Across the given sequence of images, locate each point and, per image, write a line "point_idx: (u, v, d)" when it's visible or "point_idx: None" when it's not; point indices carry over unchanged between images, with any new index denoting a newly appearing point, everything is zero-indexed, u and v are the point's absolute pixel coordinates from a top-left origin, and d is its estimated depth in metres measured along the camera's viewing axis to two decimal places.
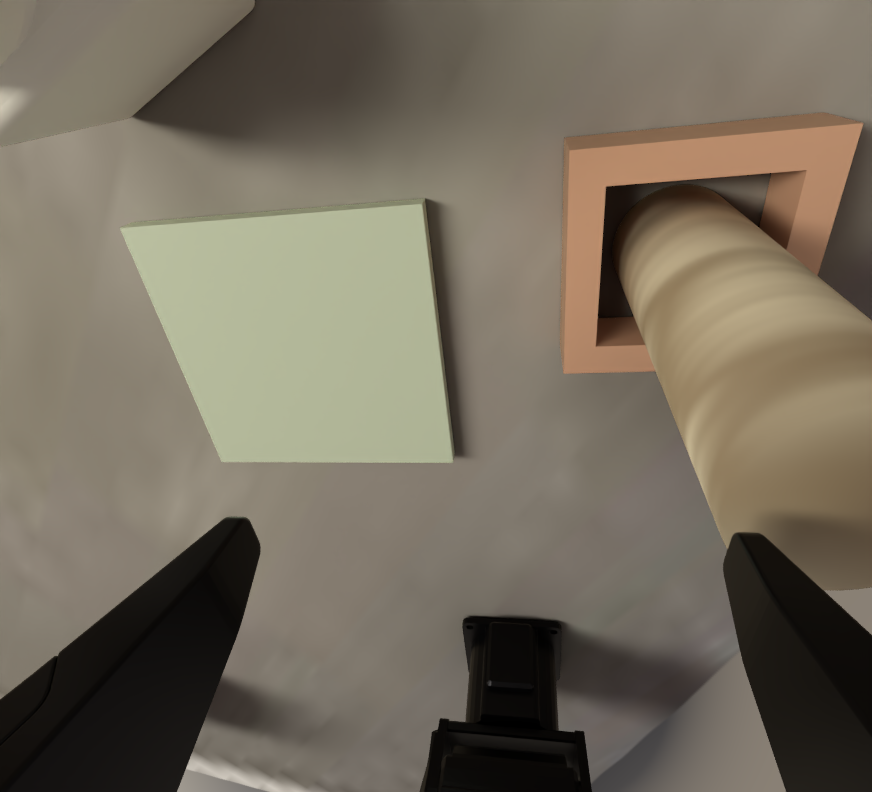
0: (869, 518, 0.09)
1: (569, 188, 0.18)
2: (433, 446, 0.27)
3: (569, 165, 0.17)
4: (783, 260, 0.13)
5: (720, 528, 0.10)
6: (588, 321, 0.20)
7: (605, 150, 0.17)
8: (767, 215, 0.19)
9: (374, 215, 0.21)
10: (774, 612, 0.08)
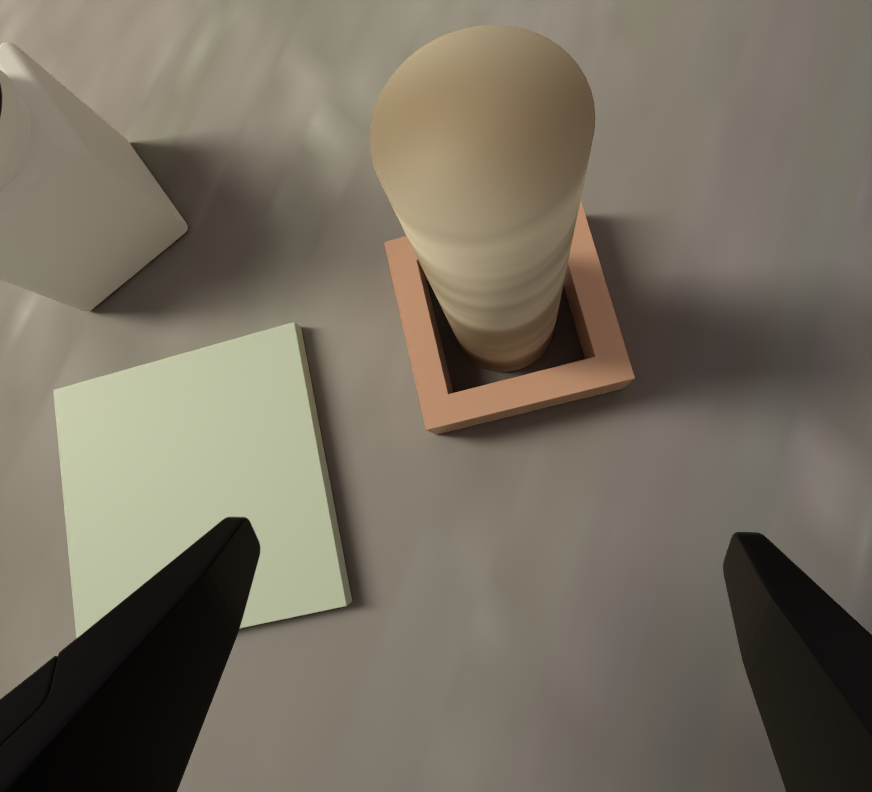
0: (490, 130, 0.11)
1: (390, 267, 0.23)
2: (321, 585, 0.23)
3: (387, 252, 0.23)
4: None
5: None
6: (433, 370, 0.22)
7: None
8: (564, 281, 0.24)
9: (257, 338, 0.25)
10: (774, 612, 0.08)
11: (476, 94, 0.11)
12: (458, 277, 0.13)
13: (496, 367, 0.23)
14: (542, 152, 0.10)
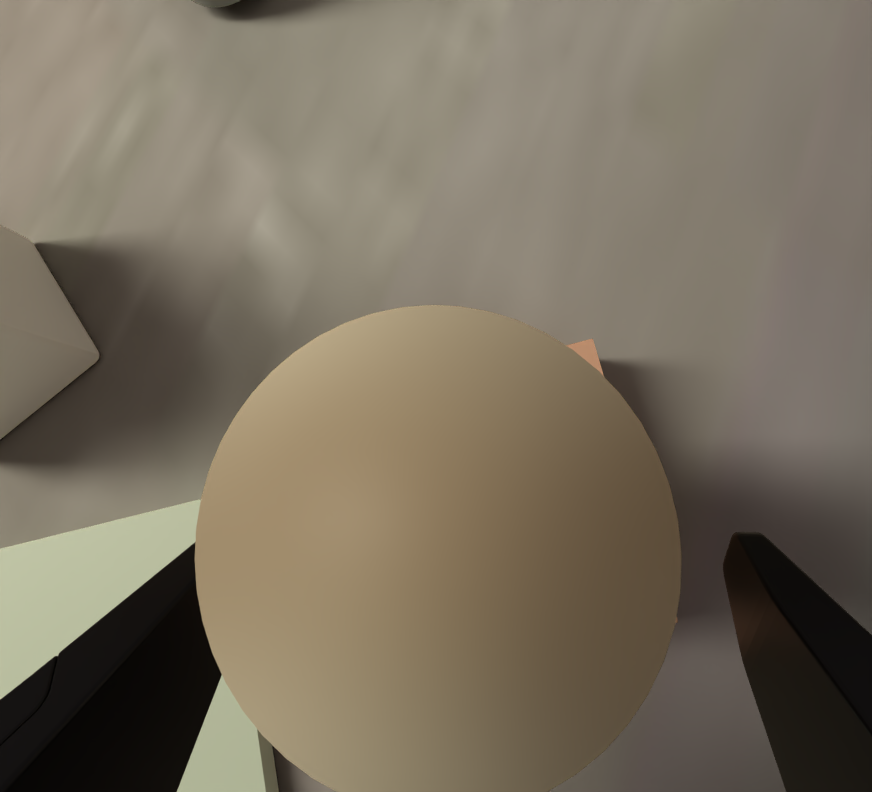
0: (445, 558, 0.05)
1: None
2: None
3: None
4: None
5: (211, 649, 0.05)
6: None
7: None
8: None
9: (177, 513, 0.19)
10: (774, 612, 0.08)
11: (417, 464, 0.05)
12: None
13: None
14: (561, 629, 0.05)
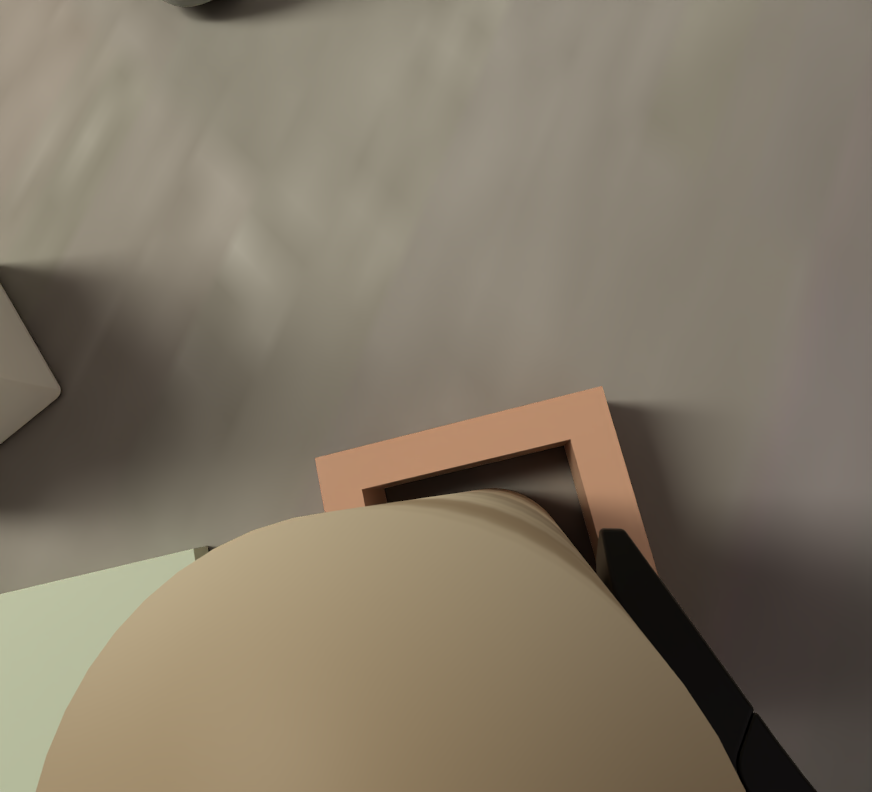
0: None
1: (323, 497, 0.15)
2: None
3: (319, 473, 0.16)
4: (472, 492, 0.09)
5: None
6: None
7: (351, 452, 0.15)
8: (582, 508, 0.16)
9: (142, 570, 0.18)
10: None
11: (360, 777, 0.03)
12: None
13: None
14: None
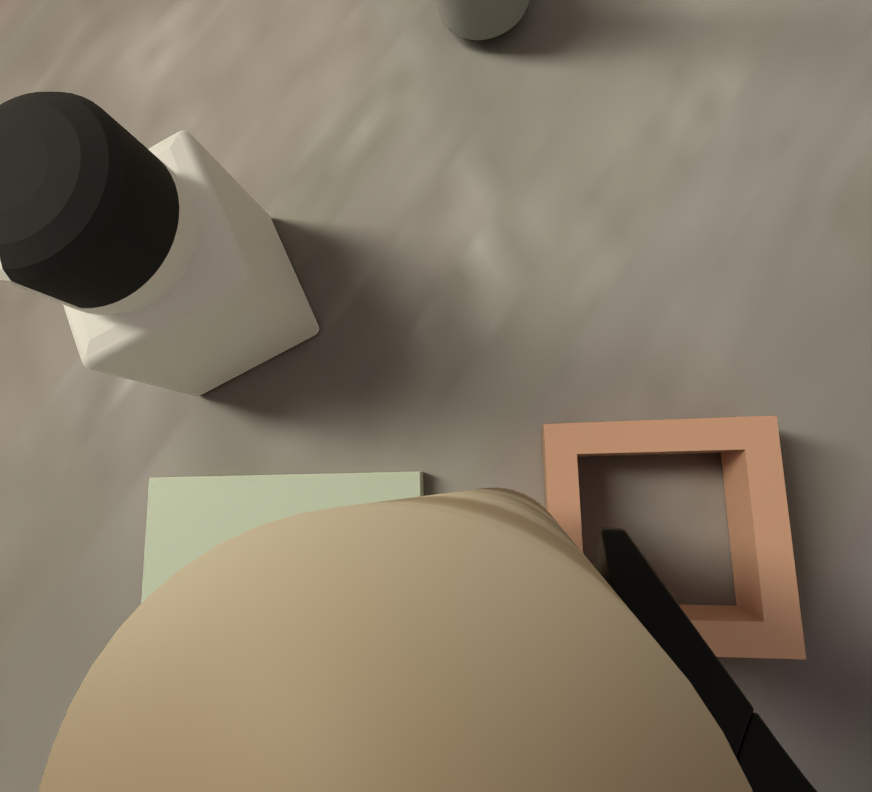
0: None
1: (546, 454, 0.21)
2: None
3: (544, 436, 0.21)
4: (474, 491, 0.09)
5: None
6: None
7: (572, 425, 0.21)
8: (729, 501, 0.21)
9: (376, 479, 0.23)
10: None
11: (363, 774, 0.03)
12: None
13: None
14: None
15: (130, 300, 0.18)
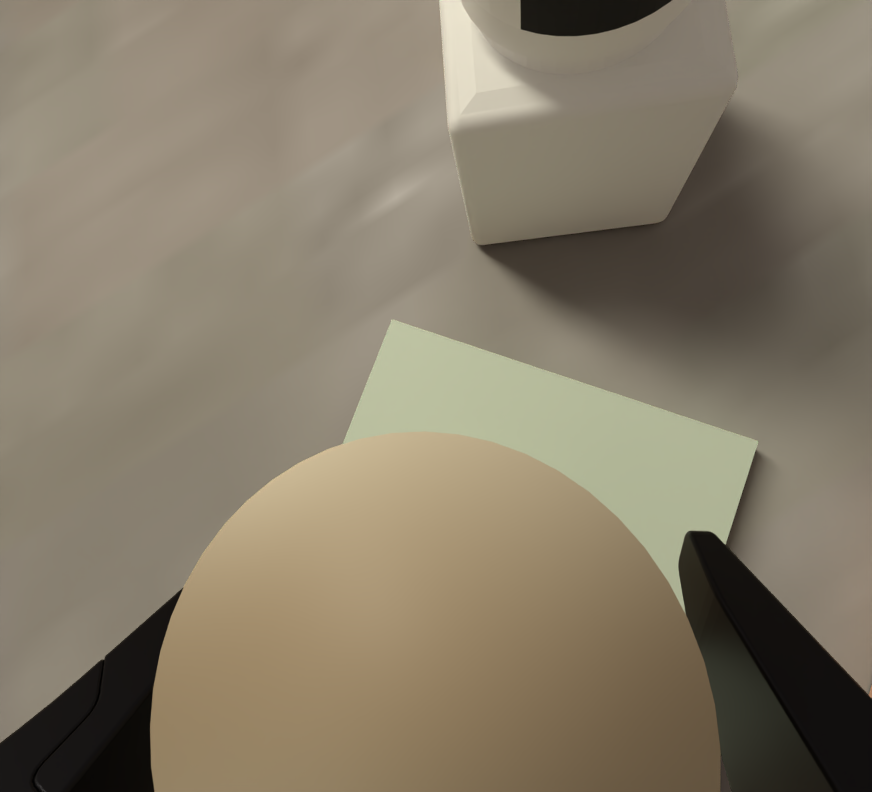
0: (441, 741, 0.04)
1: None
2: None
3: None
4: None
5: None
6: None
7: None
8: None
9: (694, 429, 0.17)
10: (717, 609, 0.08)
11: (411, 623, 0.04)
12: None
13: None
14: None
15: (593, 43, 0.12)
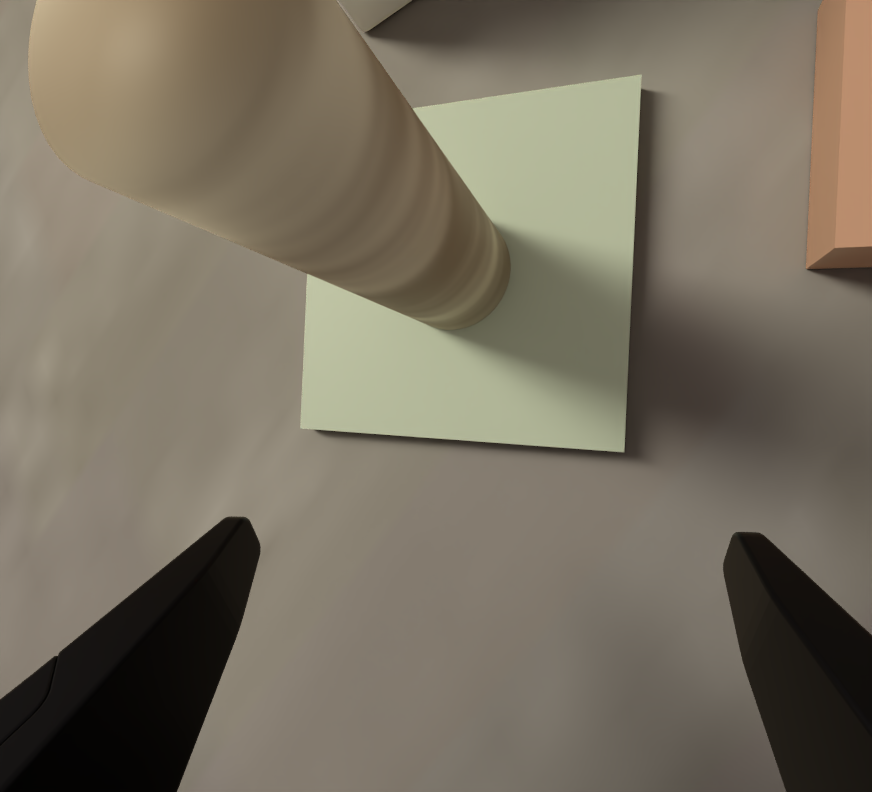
0: (156, 22, 0.07)
1: None
2: (597, 420, 0.19)
3: None
4: None
5: (58, 156, 0.08)
6: None
7: None
8: None
9: (583, 91, 0.19)
10: (774, 612, 0.08)
11: None
12: (262, 243, 0.10)
13: (454, 325, 0.19)
14: (224, 20, 0.07)
15: None
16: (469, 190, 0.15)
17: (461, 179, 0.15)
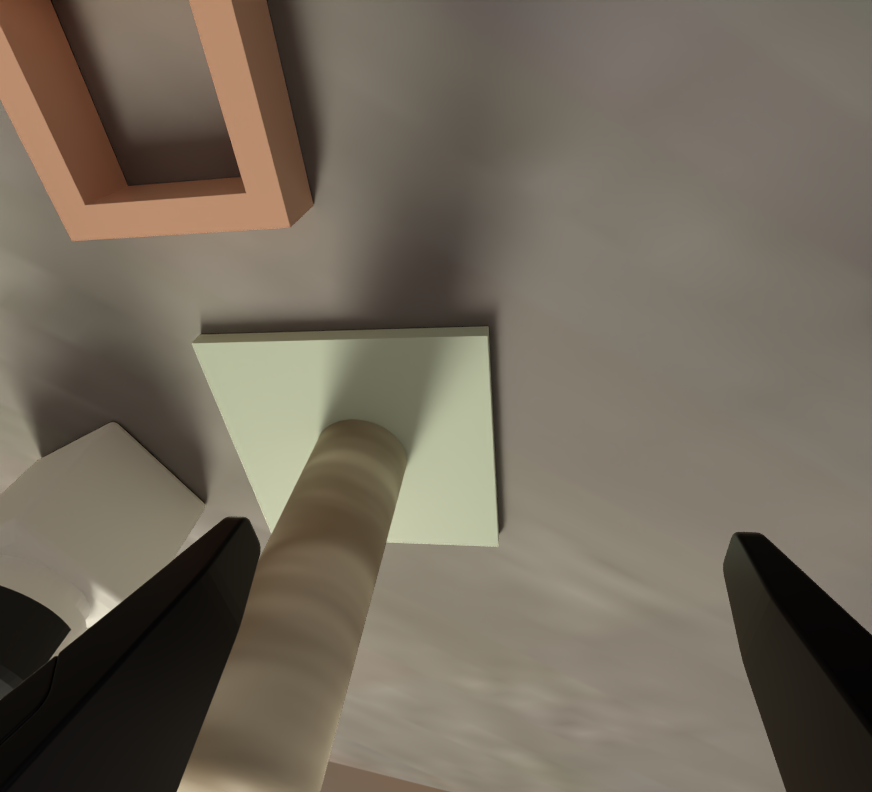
0: (235, 789, 0.15)
1: (100, 238, 0.19)
2: (462, 356, 0.22)
3: (84, 239, 0.19)
4: None
5: None
6: (218, 206, 0.18)
7: (58, 209, 0.19)
8: None
9: (212, 379, 0.24)
10: (774, 612, 0.08)
11: None
12: (339, 700, 0.16)
13: (400, 462, 0.25)
14: (228, 772, 0.14)
15: (51, 602, 0.23)
16: (296, 495, 0.21)
17: (289, 512, 0.21)
